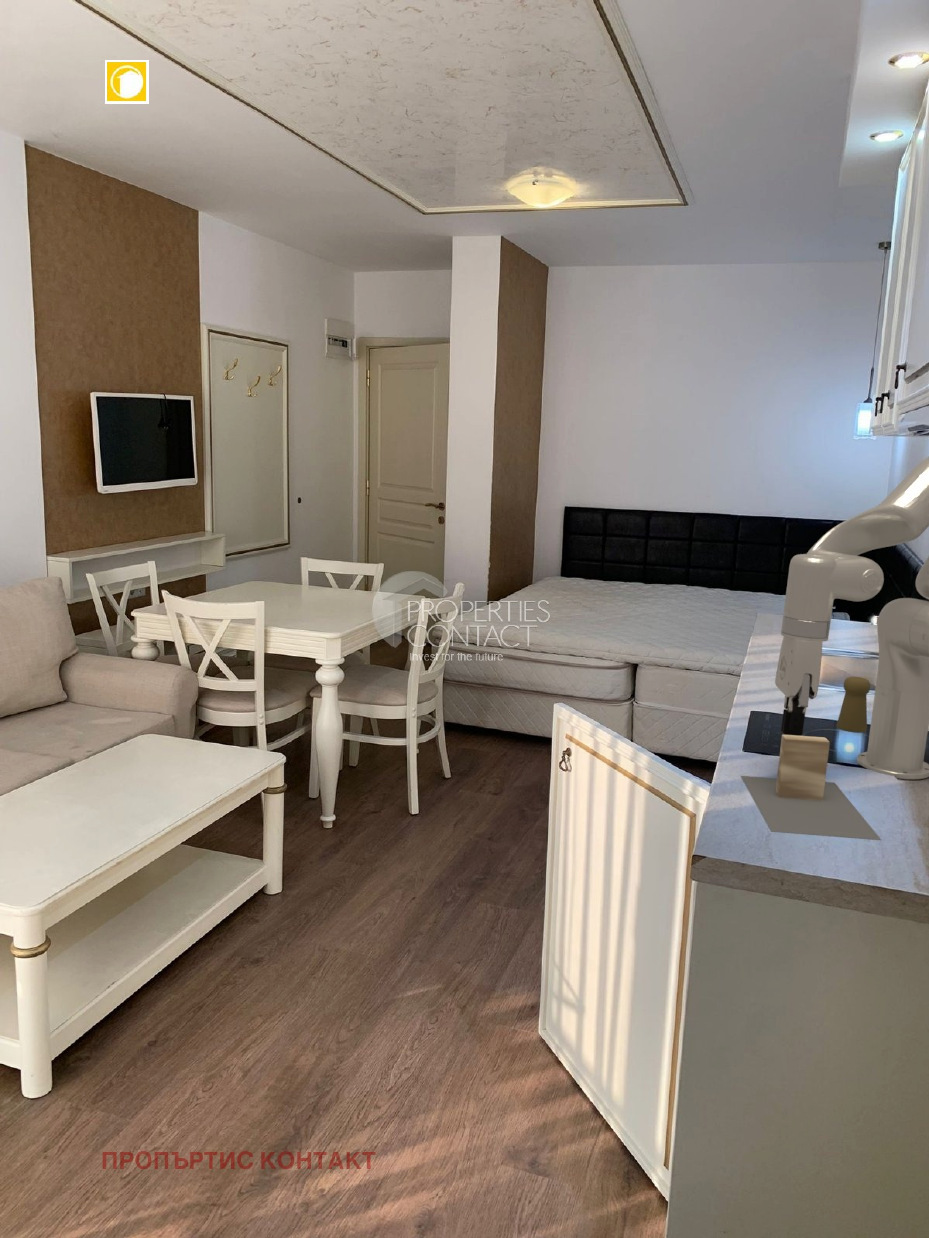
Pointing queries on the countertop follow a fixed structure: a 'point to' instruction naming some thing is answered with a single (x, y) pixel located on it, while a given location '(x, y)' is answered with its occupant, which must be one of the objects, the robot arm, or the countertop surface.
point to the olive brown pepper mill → (854, 705)
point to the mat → (808, 811)
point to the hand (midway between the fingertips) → (791, 733)
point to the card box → (802, 767)
